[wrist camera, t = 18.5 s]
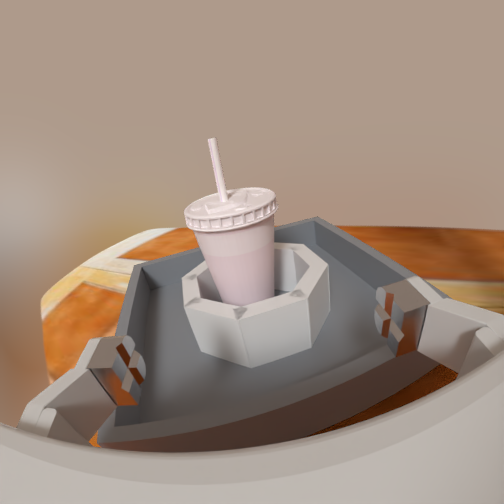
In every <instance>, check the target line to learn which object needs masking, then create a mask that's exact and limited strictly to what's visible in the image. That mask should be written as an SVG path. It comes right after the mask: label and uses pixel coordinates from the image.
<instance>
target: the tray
mask: <svg viewBox="0 0 504 504" xmlns="http://www.w3.org/2000/svg"><path fill="white" fill-rule="evenodd" d="M413 276H417V275H416V274H414V273H413V272H411V271H409V270H408V269H406V268H405V267H403V266H402V265H400V264H398V263H397V262H395V261H393V260H392V259H390V258H389V257H387V256H385V255H384V254H382V253H380V252H379V251H377V250H375V249H374V248H372V247H370V246H369V245H367V244H365V243H364V242H362V241H360V240H358V239H357V238H355V237H353V236H351V235H350V234H348V233H346V232H344V231H343V230H341V229H339V228H337V227H336V226H334V225H332V224H330V223H328V222H327V221H325V220H323V219H321V218H319V217H314V218H310V219H306V220H302V221H298V222H294V223H290V224H286V225H282V226H278V227H274V297H272V298H269V299H266V300H263V301H259V302H256V303H253V304H249V305H246V306H243V307H240V306H235V305H230V304H225V303H223V301H222V299H221V297H220V294H219V292H218V290H217V287H216V285H215V283H214V280H213V278H212V275H211V273H210V271H209V268H208V266H207V264H206V261H205V259H204V256H203V254H202V251H201V249H200V247H199V248H195V249H191V250H188V251H184V252H181V253H177V254H173V255H170V256H166V257H163V258H159V259H155V260H152V261H148V262H145V263H141V264H138V265H134V268H133V271H132V274H131V278H130V281H129V284H128V288H127V291H126V295H125V299H124V302H123V306H122V310H121V313H120V317H119V321H118V325H117V329H116V333H115V336H125V335H128V336H130V337H131V338H132V340H133V341H134V343H135V348H134V350H135V351H137V352H138V353H140V354H141V356H142V358H143V360H144V363H145V367H146V376H145V380H144V381H143V382H142V383H141V384H140V385H139V386H140V388H141V389H142V392H141V396H140V400H139V404H138V405H124V406H117V408H116V409H115V410H114V411H113V413H112V414H111V415H110V416H109V417H108V419H107V420H106V421H105V422H104V423H103V425H102V426H101V427H100V428H99V429H98V438H97V444H99V445H100V446H101V447H102V448H107V449H116V450H126V451H140V452H166V453H182V452H209V451H223V450H233V449H242V448H250V447H257V446H264V445H270V444H276V443H282V442H287V441H292V440H297V439H300V438H303V437H305V436H308V435H311V434H313V433H316V432H318V431H320V430H323V429H325V428H328V427H330V426H332V425H334V424H337V423H339V422H341V421H343V420H345V419H348V418H350V417H352V416H354V415H356V414H358V413H360V412H362V411H364V410H366V409H368V408H370V407H372V406H373V405H375V404H377V403H379V402H381V401H383V400H384V399H386V398H388V397H390V396H391V395H393V394H395V393H397V392H398V391H400V390H402V389H403V388H405V387H406V386H408V385H410V384H411V383H413V382H414V381H416V380H417V379H419V378H420V377H422V376H423V375H425V374H426V373H428V372H429V371H431V370H432V369H434V368H435V367H437V366H438V365H439V364H440V363H438V362H437V361H435V360H433V359H431V358H429V357H428V356H426V355H424V354H422V353H420V352H418V351H417V350H415V351H412V352H409V353H407V354H404V355H401V356H398V357H395V356H394V354H393V353H392V351H391V350H390V348H389V347H388V345H387V340H388V338H385V337H383V336H381V335H380V333H379V332H378V330H377V327H376V324H375V319H374V315H375V308H376V307H377V305H378V304H379V302H378V301H377V300H376V291H377V288H378V287H382V286H385V285H389V284H392V283H395V282H399V281H402V280H404V279H407V278H410V277H413ZM418 277H419V276H418ZM421 279H422V278H421ZM422 280H423V279H422ZM423 281H424V282H425V283H426V284H428V285H429V286H430V287H431V288H432V289H433V290H434V291H435V292H436V293H438V294H439V295H440V296H441V297H442V298H443V299H445V298H449V299H452V298H450V297H449V296H447V295H446V294H445V293H443V292H442V291H440V290H439V289H437V288H436V287H434V286H433V285H431V284H430V283H428V282H427V281H425V280H423Z"/></svg>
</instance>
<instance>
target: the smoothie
mask: <svg viewBox="0 0 504 504" xmlns="http://www.w3.org/2000/svg"><path fill="white" fill-rule="evenodd" d="M208 144H209V149H210V154H211V159H212V164H213V169H214V174H215V179H216V184H217V189H218V193H215V194H212V195H208V196H206V197H203V198H200V199H198V200H196V201H194V202H193V203H191V204H190V205H188V206H187V207H186V209H185V210H184V215H185V219H186V225H187V227H188V228H189V229H192V230H193V231H194V234H195V236H196V239H197V242H198V244H199V247H200V249H201V251H202V254H203V256H204V259H205V261H206V264H207V266H208V268H209V271H210V273H211V275H212V278H213V280H214V283H215V285H216V287H217V290H218V292H219V294H220V297H221V299H222V301H223V303H225V304H230V305H235V306H240V307H243V306H246V305H249V304H253V303H256V302H259V301H263V300H266V299H269V298H272V297H274V213H275V212H276V211H277V210H278V204H277V203H276V194H275V193H274V192H273V191H271V190H269V189H265V188H239V189H232V190H226V185H225V181H224V175H223V170H222V165H221V160H220V154H219V149H218V144H217V139H216V137H215V138H211V139H208Z"/></svg>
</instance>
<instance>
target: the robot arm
mask: <svg viewBox="0 0 504 504" xmlns="http://www.w3.org/2000/svg"><path fill="white" fill-rule="evenodd" d="M376 300H377V301H378V302H379V304H378V305H377V307H376V308H375V315H374V319H375V324H376V327H377V330H378V332H379V333H380V335H381V336H383V337H385V338H388V340H387V345H388V347H389V348H390V350H391V351H392V353H393V354H394V356H395V357H398V356H401V355H404V354H407V353H409V352H412V351H415V350H417V351H418V352H420V353H422V354H424V355H426V356H428V357H429V358H431V359H433V360H435V361H437V362H438V363H440V364H442V365H444V366H446V367H448V368H449V369H451V370H453V371H455V372H457V373H459V374H458V376H457V378H456V380H455V381H453V382H452V383H450V384H448V385H446V386H444V387H442V388H440V389H438V390H436V391H434V392H432V393H430V394H428V395H426V396H424V397H422V398H420V399H418V400H415V401H413V402H411V403H409V404H406V405H404V406H402V407H399V408H397V409H394V410H392V411H389V412H387V413H384V414H382V415H379V416H376V417H374V418H371V419H368V420H365V421H362V422H359V423H356V424H353V425H350V426H347V427H343V428H340V429H337V430H333V431H329V432H326V433H322V434H318V435H314V436H310V437H306V438H301V439H297V440H292V441H287V442H282V443H276V444H270V445H264V446H257V447H250V448H242V449H233V450H223V451H209V452H182V453H166V452H140V451H126V450H116V449H107V448H100V447H93V446H92V445H91V444H90V443H89V440H90V439H91V438H92V437H93V436H94V434H95V433H96V432H97V431H98V429H99V428H100V427H101V426H102V425H103V423H104V422H105V421H106V420H107V419H108V417H109V416H110V415H111V414H112V413H113V411H114V410H115V409H116V408H117V406H124V405H138V404H139V400H140V396H141V392H142V389H141V388H140V386H139V385H140V384H141V383H142V382H143V381H144V380H145V376H146V367H145V363H144V360H143V358H142V356H141V354H140V353H138V352H137V351H135V350H134V348H135V343H134V341H133V340H132V338H131V337H130V336H128V335H125V336H112V337H100V338H92V339H90V340H89V341H88V343H87V345H86V347H85V349H84V351H83V353H82V355H81V356H80V358H79V360H78V362H77V364H76V366H75V368H74V369H70V370H69V371H68V372H67V373H65V374H64V375H63V376H61V377H60V378H59V379H58V380H56V381H55V382H54V383H53V384H51V385H50V386H49V387H48V388H46V389H45V390H44V391H43V392H41V393H40V394H39V395H38V396H36V397H35V398H34V399H33V400H31V401H30V402H29V403H28V404H27V406H26V408H25V410H24V412H23V414H22V417H21V419H20V421H19V423H18V426H17V427H16V428H14V427H11V426H8V425H5V424H3V423H0V504H504V315H503V314H499V313H496V312H493V311H489V310H486V309H483V308H479V307H476V306H473V305H469V304H466V303H463V302H459V301H456V300H453V299H449V298H445V299H443V298H442V297H441V296H440V295H439V294H438V293H436V292H435V291H434V290H433V289H432V288H431V287H430V286H429V285H428V284H426V283H425V282H424V281H423V280H422V279H421V278H420V277H418V276H413V277H410V278H407V279H404V280H402V281H399V282H395V283H392V284H389V285H385V286H382V287H378V288H377V291H376Z"/></svg>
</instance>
